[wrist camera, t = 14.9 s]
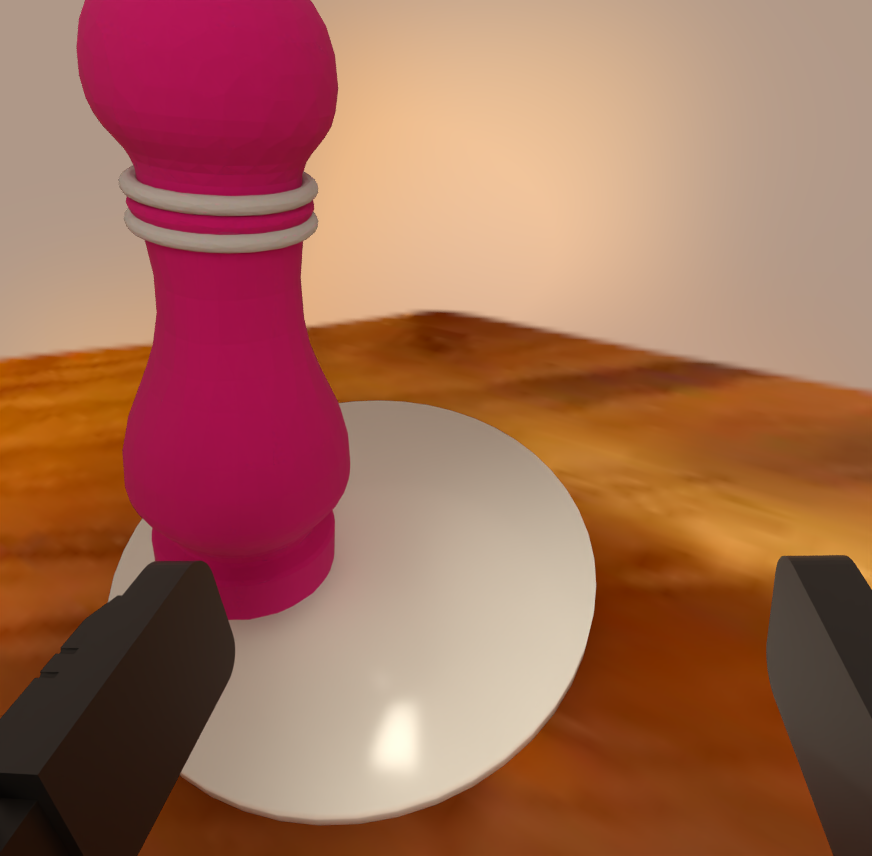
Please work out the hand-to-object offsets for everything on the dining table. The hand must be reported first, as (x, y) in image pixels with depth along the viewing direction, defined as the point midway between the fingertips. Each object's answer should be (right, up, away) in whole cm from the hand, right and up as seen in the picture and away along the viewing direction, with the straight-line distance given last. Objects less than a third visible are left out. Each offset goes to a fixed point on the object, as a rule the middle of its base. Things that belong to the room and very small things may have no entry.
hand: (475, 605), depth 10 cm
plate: (-4, -4, +17) cm, 18 cm away
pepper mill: (-7, -2, +15) cm, 17 cm away
